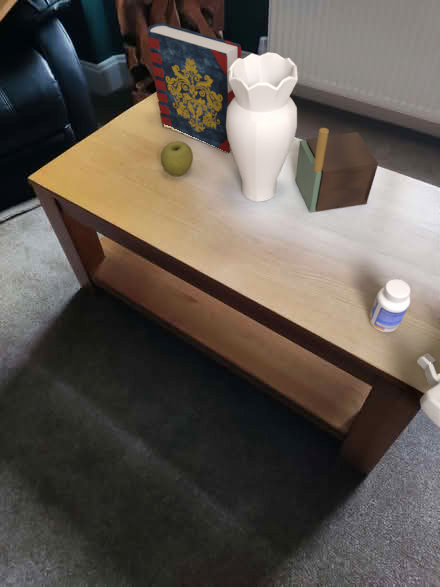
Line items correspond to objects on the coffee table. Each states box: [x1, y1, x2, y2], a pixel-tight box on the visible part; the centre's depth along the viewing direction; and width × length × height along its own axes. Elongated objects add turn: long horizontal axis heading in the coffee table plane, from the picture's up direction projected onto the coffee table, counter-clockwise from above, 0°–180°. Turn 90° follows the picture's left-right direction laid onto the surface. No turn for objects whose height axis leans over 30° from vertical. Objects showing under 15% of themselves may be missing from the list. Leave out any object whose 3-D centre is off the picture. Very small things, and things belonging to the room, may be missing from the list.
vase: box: [226, 51, 299, 203], centre depth 92 cm, size 15×15×29 cm
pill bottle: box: [369, 278, 411, 333], centre depth 75 cm, size 5×5×10 cm
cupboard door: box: [294, 127, 330, 213], centre depth 93 cm, size 2×12×20 cm, turn 10°
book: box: [146, 22, 242, 154], centre depth 109 cm, size 25×7×25 cm, turn 53°
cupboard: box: [305, 131, 379, 212], centre depth 97 cm, size 12×12×11 cm
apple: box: [160, 141, 194, 177], centre depth 106 cm, size 8×8×7 cm
